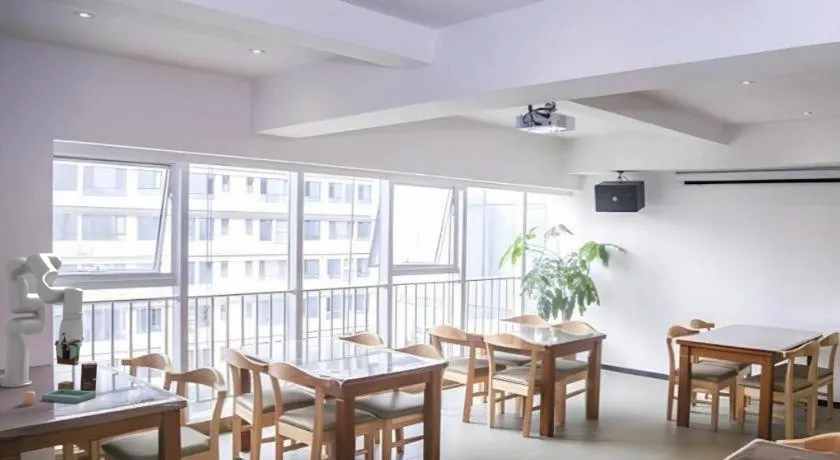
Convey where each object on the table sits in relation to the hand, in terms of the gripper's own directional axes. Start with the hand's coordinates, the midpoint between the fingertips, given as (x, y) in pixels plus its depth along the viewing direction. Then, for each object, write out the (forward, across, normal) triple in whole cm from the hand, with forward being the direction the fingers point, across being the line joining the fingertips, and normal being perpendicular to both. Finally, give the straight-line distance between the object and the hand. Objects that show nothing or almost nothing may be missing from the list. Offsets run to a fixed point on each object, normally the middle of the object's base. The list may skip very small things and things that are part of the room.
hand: (70, 357), depth 299 cm
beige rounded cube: (+18, +13, -9) cm, 24 cm away
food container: (+3, -1, 0) cm, 3 cm away
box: (+18, -17, -3) cm, 25 cm away
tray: (+18, 0, 0) cm, 18 cm away
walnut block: (+18, -10, -10) cm, 23 cm away
